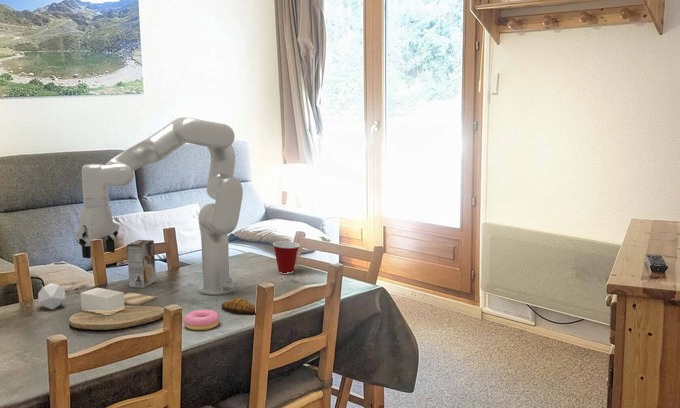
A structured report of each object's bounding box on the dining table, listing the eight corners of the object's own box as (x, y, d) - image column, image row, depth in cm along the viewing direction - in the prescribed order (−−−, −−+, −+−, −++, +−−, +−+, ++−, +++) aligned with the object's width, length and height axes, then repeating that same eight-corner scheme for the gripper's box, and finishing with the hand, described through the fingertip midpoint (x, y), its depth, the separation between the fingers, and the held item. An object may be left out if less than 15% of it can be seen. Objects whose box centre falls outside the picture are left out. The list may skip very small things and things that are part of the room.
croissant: (215, 312, 216) (215, 297, 215) (228, 306, 222) (227, 292, 221) (251, 317, 210) (250, 302, 209) (262, 311, 216) (262, 297, 215)
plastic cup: (299, 276, 259) (298, 246, 257) (271, 276, 259) (271, 246, 257) (301, 269, 270) (301, 240, 268) (274, 269, 270) (274, 240, 268)
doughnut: (176, 326, 203) (176, 312, 202) (207, 317, 210) (207, 305, 210) (196, 334, 195) (196, 321, 194) (227, 325, 203) (227, 312, 202)
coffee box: (140, 280, 254) (138, 239, 251) (156, 281, 252) (154, 240, 250) (128, 287, 245) (126, 244, 242) (144, 287, 244) (142, 245, 241)
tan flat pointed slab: (157, 298, 230) (157, 297, 230) (138, 305, 222) (137, 304, 222) (129, 293, 236) (129, 292, 236) (110, 300, 228) (110, 298, 228)
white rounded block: (124, 309, 218) (123, 292, 217) (108, 316, 212) (106, 297, 211) (98, 304, 223) (97, 287, 222) (81, 310, 217) (80, 292, 216)
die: (71, 308, 221) (69, 282, 226) (54, 303, 214) (52, 275, 218) (50, 316, 223) (49, 289, 227) (32, 311, 215) (31, 283, 219)
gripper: (108, 198, 222) (111, 248, 224) (65, 205, 207) (68, 259, 209) (125, 200, 218) (127, 251, 221) (82, 207, 203) (85, 261, 206)
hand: (98, 254), depth 215 cm, fingers open, 9 cm apart
